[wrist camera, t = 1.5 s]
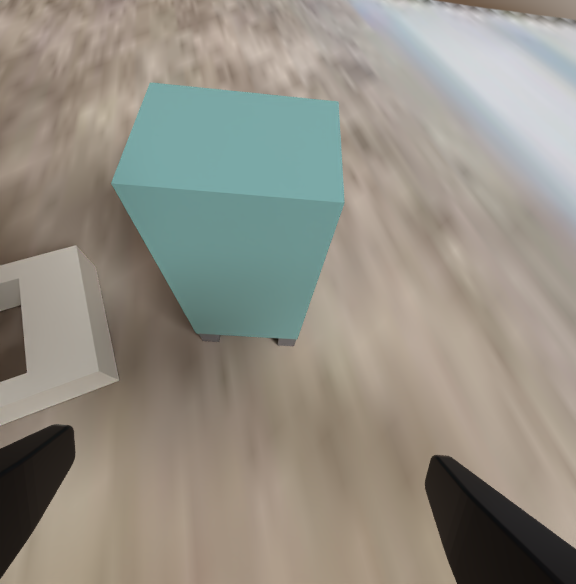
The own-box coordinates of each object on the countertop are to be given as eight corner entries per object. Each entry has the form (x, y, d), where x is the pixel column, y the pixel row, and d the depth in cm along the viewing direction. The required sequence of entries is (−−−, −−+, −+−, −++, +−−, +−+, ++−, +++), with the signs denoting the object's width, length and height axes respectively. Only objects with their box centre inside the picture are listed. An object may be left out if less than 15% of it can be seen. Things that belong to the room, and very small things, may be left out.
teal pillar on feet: (293, 349, 19) (344, 202, 8) (202, 344, 19) (110, 183, 7) (295, 291, 21) (338, 101, 10) (211, 285, 21) (150, 82, 9)
